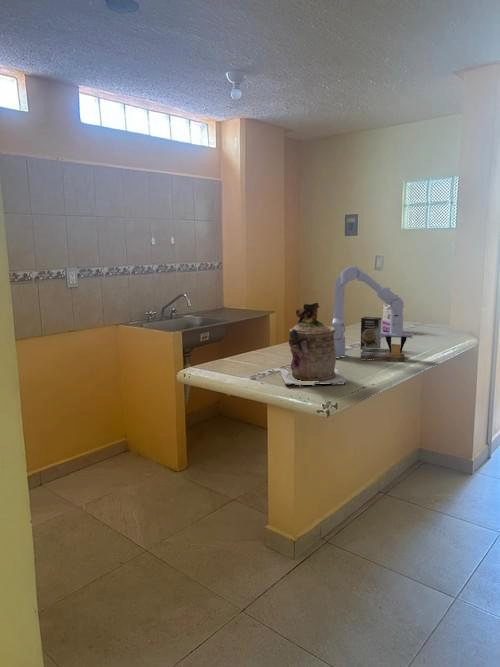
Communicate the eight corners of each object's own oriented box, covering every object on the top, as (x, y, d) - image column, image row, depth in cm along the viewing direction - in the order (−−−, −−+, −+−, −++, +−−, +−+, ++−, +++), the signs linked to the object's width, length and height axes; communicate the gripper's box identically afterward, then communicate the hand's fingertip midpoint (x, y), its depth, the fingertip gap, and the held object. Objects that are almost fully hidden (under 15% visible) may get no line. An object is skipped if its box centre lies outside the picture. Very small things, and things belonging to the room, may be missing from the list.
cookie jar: (335, 369, 215) (335, 296, 209) (348, 385, 191) (349, 304, 185) (279, 371, 215) (277, 298, 209) (285, 388, 191) (283, 306, 184)
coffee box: (360, 349, 252) (360, 318, 249) (363, 346, 257) (363, 316, 254) (378, 350, 247) (378, 319, 244) (381, 348, 253) (381, 317, 250)
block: (391, 355, 229) (391, 345, 228) (391, 353, 233) (391, 343, 232) (400, 355, 228) (400, 346, 227) (400, 353, 232) (400, 344, 231)
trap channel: (360, 359, 230) (360, 352, 229) (362, 354, 240) (362, 347, 240) (404, 361, 224) (404, 354, 224) (404, 356, 235) (404, 349, 234)
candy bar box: (401, 333, 288) (402, 305, 285) (394, 334, 286) (395, 306, 283) (388, 330, 298) (389, 303, 295) (382, 331, 296) (382, 304, 293)
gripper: (379, 325, 226) (379, 353, 228) (413, 325, 222) (412, 355, 224) (380, 322, 232) (379, 350, 235) (412, 323, 228) (411, 351, 231)
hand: (395, 352), depth 230 cm, fingers closed on block, 4 cm apart
